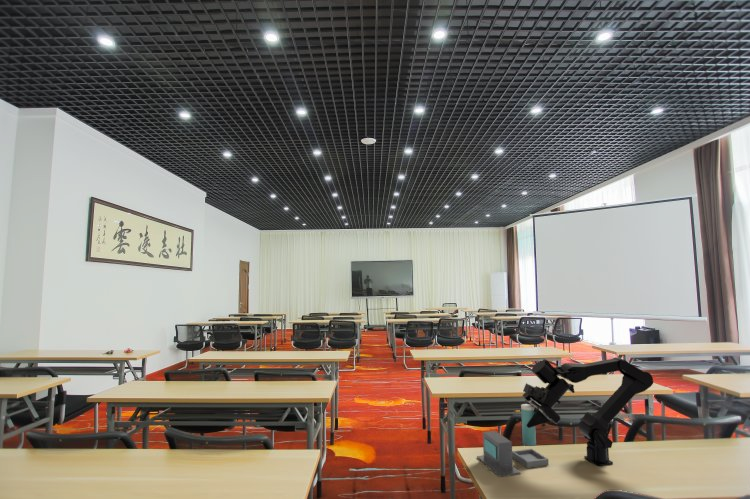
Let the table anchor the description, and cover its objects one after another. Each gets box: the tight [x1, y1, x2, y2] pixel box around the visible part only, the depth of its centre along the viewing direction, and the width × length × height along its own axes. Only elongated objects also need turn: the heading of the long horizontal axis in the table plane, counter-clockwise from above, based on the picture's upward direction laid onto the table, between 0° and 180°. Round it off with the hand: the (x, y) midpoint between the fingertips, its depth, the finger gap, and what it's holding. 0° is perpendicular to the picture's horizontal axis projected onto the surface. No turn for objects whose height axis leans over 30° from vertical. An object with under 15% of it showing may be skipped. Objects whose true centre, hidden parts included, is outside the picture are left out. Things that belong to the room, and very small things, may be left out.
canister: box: [520, 403, 537, 447], centre depth 133 cm, size 4×4×13 cm
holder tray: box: [512, 448, 550, 469], centre depth 131 cm, size 9×9×2 cm
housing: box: [476, 430, 521, 478], centre depth 129 cm, size 8×14×10 cm, turn 15°
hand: (524, 424), depth 133 cm, fingers closed on canister, 4 cm apart
